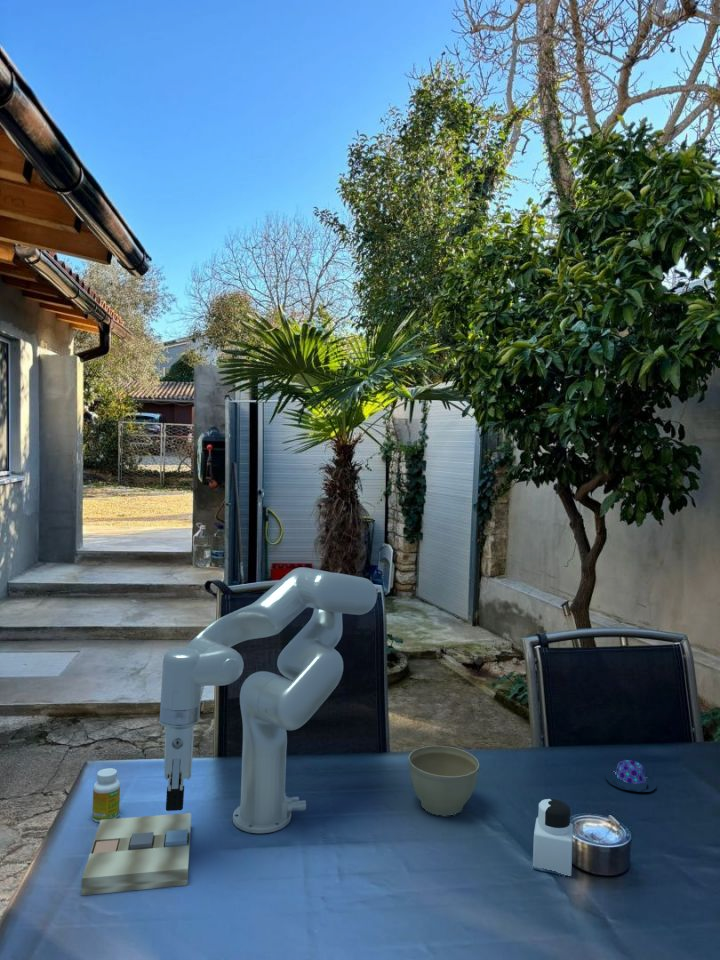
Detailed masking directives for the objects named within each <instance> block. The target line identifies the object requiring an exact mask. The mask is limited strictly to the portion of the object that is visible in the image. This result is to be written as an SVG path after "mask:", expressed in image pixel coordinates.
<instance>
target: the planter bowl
mask: <svg viewBox="0 0 720 960" xmlns="http://www.w3.org/2000/svg"><path fill="white" fill-rule="evenodd" d="M408 765H409V766H408V767H409V777H410V778H409V779H410V782H411V786H412V787H413V791H414V792H415V794H416V796H417V797H418V800H419V801H420V805H421V807H422V809H423V808H424V809H425V810H424V809H423V810H424V811H425V812H427V811H428V812H427V813H429V812H430V813H429V814H431V813H433V814H432V815H434V814H436V815H435V816H438V815H451V814H455V813H458V812H460V811H461V810H462V811H463V809H464V806H465V805H466V803H467V802H468V801H469V800H470V798H471V796H472V795H473V792H474V790H475V787H476V784H477V781H478V772H479V769H480V762H479V760H478V759H477V757H475V756H474V755H473V754H472V753H470V752H468V751H466V750H463V749H461V748H457V747H452V746H445V745H427V746H422V747H419V748H415V749H414V750H412V751H411V752H410V753H409V754H408ZM462 808H463V809H462ZM462 811H461V812H462ZM461 812H460V813H461Z"/></svg>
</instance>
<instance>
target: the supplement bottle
mask: <svg viewBox="0 0 720 960" xmlns="http://www.w3.org/2000/svg"><path fill="white" fill-rule="evenodd" d="M117 777H118V770H117V769H115V768H112V767H111V768H109V767H108V768H102V769H100V770H98V772H97V774H96V782H95V783H94V784H93V788H92V789H93V790H92V813H91V815H92V816H91V817H92V821H94V822H96V823H99V824H100V821H101V820H105V819H118V817H119V815H120V802H121V801H120V799H121V797H120V796H121V783H120V780H119V779H118V778H117Z"/></svg>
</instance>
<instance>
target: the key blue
mask: <svg viewBox="0 0 720 960" xmlns="http://www.w3.org/2000/svg"><path fill="white" fill-rule="evenodd" d="M187 835H188V829H186V830H174V831H167V833H166V841H165V847H173V846H185V845H187Z"/></svg>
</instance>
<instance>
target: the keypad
mask: <svg viewBox="0 0 720 960" xmlns="http://www.w3.org/2000/svg"><path fill="white" fill-rule="evenodd" d="M191 828H192V812H186V813H173V814H171V813H170V814H159V815H145V816H134V817H132V816H131V817H120V818H118V817H117V818H116V819H105V820H101V821H100V823H99V824H98V827H97V831H96V833H95V836H94V839H93V843H92V846H91V850H90V852H89V855H88V858H87V861H86V865H85V867H84V871H83V875H82V876H81V877H82V878H81V890H80V891H81V892H80V893H81V896H91V895H100V894H110V893H111V894H112V893H113V894H114V893H121V892H130V891H131V892H132V891H139V890H140V891H141V890H142V891H143V890H149V889H150V890H151V889H152V890H153V889H162V888H163V889H164V888H170V887H171V888H172V887H180V886H181V887H183V886H188V885H189V884H188V881H189V866H190V864H189V863H190V851H191V850H190V848H191ZM186 829H188V835H187V845H185V846H173V847H165V841H166V833H167V831H174V830H186ZM149 832H154V835H153V845H152V848H150V849H138V850H130V842H131V837H132V834H137V833H149ZM111 840H119V841H118V850H117V851H115V852H103V853H93V852H94V849H95V845H96V842H99V841H111Z"/></svg>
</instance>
